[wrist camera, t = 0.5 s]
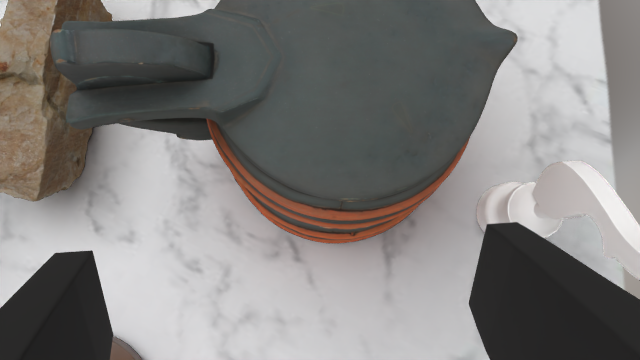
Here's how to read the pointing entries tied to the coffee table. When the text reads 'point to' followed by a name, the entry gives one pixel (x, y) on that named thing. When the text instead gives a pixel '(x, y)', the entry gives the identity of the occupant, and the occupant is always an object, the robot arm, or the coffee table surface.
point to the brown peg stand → (122, 351)
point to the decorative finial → (566, 208)
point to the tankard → (301, 98)
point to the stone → (38, 99)
